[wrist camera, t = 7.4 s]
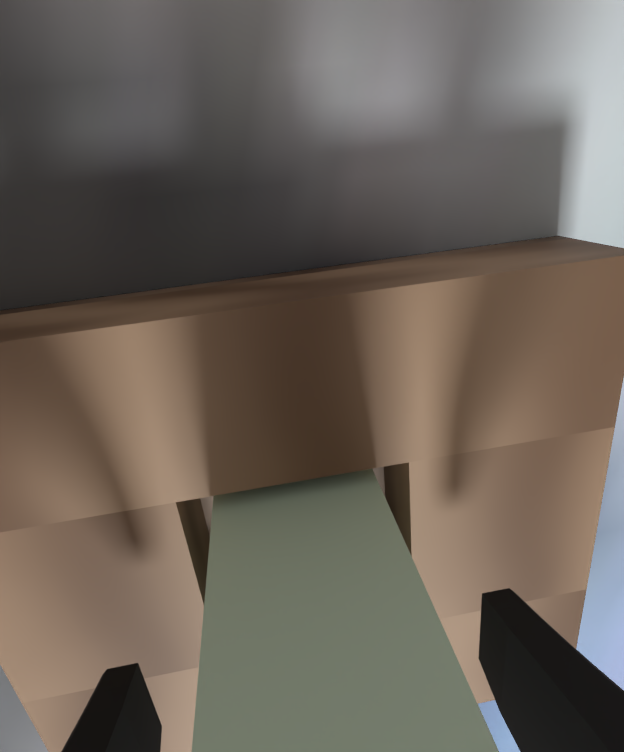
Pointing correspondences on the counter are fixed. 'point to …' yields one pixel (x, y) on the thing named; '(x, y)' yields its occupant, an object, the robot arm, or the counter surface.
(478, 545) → the socket block
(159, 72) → the counter surface
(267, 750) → the peg
